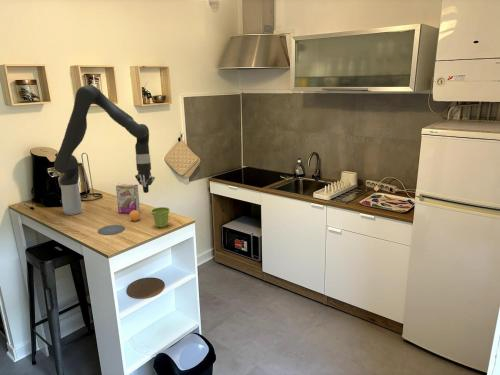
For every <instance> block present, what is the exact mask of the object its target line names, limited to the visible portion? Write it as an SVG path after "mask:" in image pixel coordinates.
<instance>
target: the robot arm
mask: <svg viewBox="0 0 500 375" xmlns="http://www.w3.org/2000/svg"><path fill="white" fill-rule="evenodd" d="M73 102H74V103H73V104H74V105H73V108H72V111H71V114H70V117H69V119H68V123H67V127H66V129H65V133H64V136H63V139H62V142H61V144H60V148H59V149H58V152H57V154H56V156H55V159H54V162H53V163H54V164H53V166H54V169H55V171H56V172H57V173H58V174H63V176H62V177H61V178H60V179H59V182H60V184H59V185H60V189H61V203H62V210H63V213H64V214H65V215H68V216H71V215H77V214H80V213H82V212H83V208H82V200H81V199H82V198H81V192H80V186H79V185H80V184H79V179H80V178H79V177H80V171H79V170H80V169H79V162H78V160H77V158H76V156H75V155H73V154H74V152H75V150H76V149H77V148H78V147H79V145H81V143H82V142H83V140H84V139H85V135H86V132H87V130H88V122H87V116H88V112H89V110H90V108H91V106H92V104H94V105H97V107H99V108H101V109H103V110H104V112H106V114H107V115H108V116H109V117H110V118H111V119H112V120H113V121H114V122H115V123H117V124H118V125H120V126H121V127H123V128H124V129H125V130H126V131H127V132H128V133H129V134H130V135H131V136H132V137H133V138H136V142H135V147H134V148H135V149H134V150H135V165H136V171H137V174H135V175H134V177H135V179H136V181H137V182H138V183H139V184H138V185H140V186H142V189H143V190H142V191H143V193H144V194H148V193H149V191H150V190H149V186H151V185H152V184H153V182H154V181H155V179H156V177H155V176H153V175H152V172H151V170H152V162H151V161H152V160H151V155H150V148H149V147H150V144H149V143H150V141H149V140H150V130H149V127H148V126H147V125H146V124H144V123H138V122H136V121H135V120H134V118H133V117H132V116H131V115H130V114H128V113H127V112H125V111H124V110H123V109H122V108H120V107H119V106H118V105H116V104H115V103H114V102H113V101H111V100H110V99H109V98H108V97H107V96H106V95H105V94H104V93H103V92H102V91H101V90H100V89H98V87H96V86H95V85H92V84H87V85H84V86H81V87H79V88H78V89H77V91H76V93H75V98H74V101H73Z"/></svg>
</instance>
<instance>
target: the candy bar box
mask: <svg viewBox="0 0 500 375" xmlns="http://www.w3.org/2000/svg"><path fill="white" fill-rule="evenodd" d="M115 191H116V199H117V200H116V201H117V211H118V214H130V212H131V211H133V210H137V211H138V212H139V213H140V211H141V208H140V206H141V205H140V194H139V184H138V183H118V184H116V185H115Z"/></svg>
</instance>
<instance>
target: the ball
mask: <svg viewBox="0 0 500 375" xmlns="http://www.w3.org/2000/svg"><path fill="white" fill-rule="evenodd" d="M128 214H129V215H128V216H129V218H130V220H131V221H134V222H136V221H138V220H140V218H141V213H140V211H139V212H138V211H137V210H133V211H131V212H130V213H128Z"/></svg>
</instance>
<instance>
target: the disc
mask: <svg viewBox="0 0 500 375" xmlns="http://www.w3.org/2000/svg"><path fill="white" fill-rule="evenodd" d="M125 228H126V227H125V226H124V225H121V224H112V225H106V226H102V227H101V228H99V229H98V230H97V233H98V234H99V235H102V236H113V235H117V234H119V233H122V232H124V231H125Z"/></svg>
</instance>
